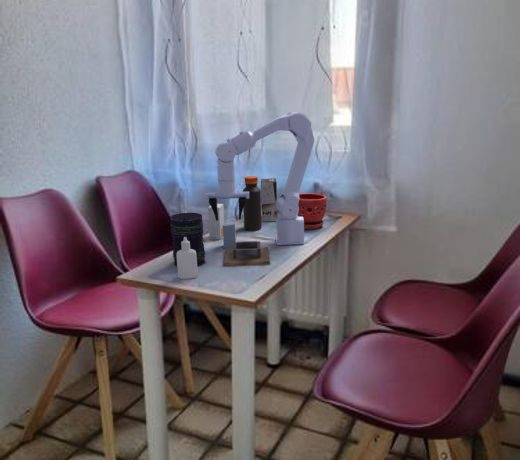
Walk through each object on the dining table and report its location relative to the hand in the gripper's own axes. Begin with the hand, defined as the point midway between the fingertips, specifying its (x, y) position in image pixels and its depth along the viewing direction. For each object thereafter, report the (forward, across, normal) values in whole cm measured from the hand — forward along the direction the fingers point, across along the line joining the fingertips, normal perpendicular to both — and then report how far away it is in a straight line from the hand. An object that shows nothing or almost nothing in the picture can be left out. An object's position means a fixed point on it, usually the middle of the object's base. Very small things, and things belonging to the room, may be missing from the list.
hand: (228, 219), depth 161 cm
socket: (+10, -6, +12) cm, 16 cm away
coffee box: (+10, -15, -35) cm, 39 cm away
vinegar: (+10, -8, -21) cm, 25 cm away
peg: (+10, 0, 0) cm, 10 cm away
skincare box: (+10, +5, -11) cm, 15 cm away
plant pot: (+10, -30, -22) cm, 39 cm away
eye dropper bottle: (+10, +11, +27) cm, 31 cm away
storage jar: (+10, +12, +15) cm, 22 cm away
